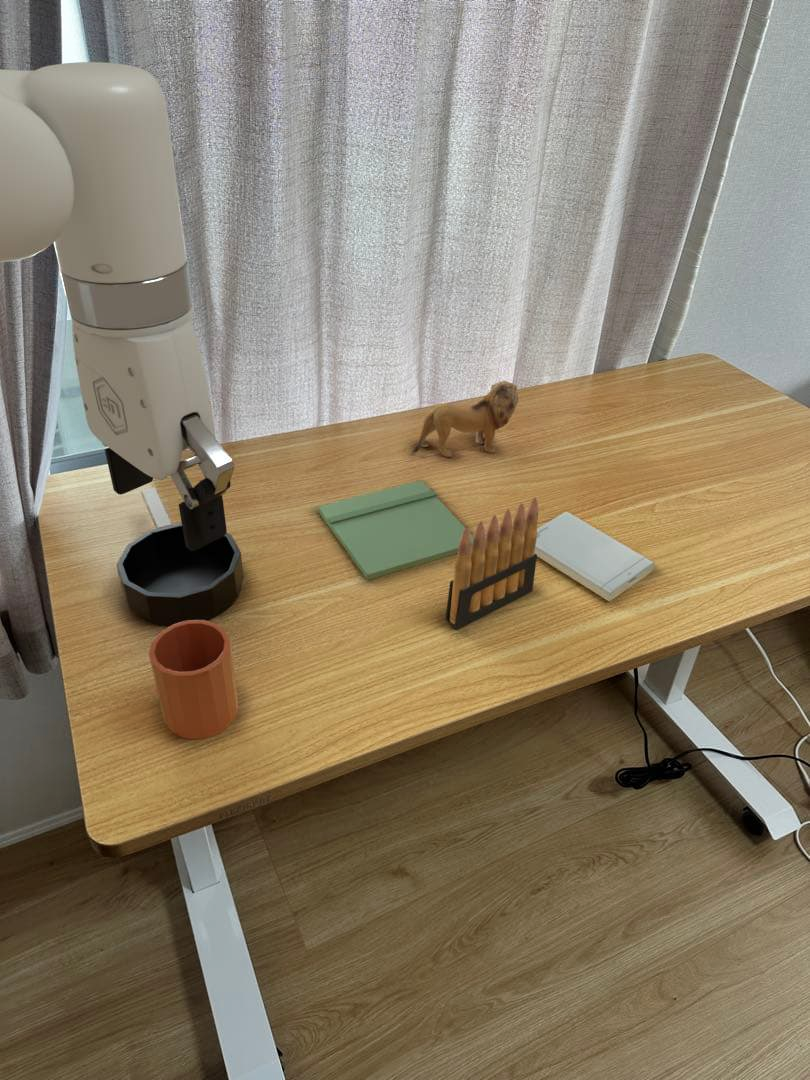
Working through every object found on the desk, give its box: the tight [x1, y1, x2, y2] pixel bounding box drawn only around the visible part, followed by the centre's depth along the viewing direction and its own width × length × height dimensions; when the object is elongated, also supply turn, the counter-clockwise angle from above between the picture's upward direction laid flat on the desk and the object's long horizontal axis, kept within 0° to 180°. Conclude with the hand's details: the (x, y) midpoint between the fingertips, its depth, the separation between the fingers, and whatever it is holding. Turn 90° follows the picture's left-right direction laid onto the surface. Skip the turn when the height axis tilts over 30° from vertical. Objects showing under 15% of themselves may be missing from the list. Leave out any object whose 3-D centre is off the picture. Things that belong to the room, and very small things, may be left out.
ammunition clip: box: [444, 497, 539, 630], centre depth 81 cm, size 11×2×12 cm, turn 127°
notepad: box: [317, 479, 474, 581], centre depth 94 cm, size 14×14×1 cm
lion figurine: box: [411, 380, 519, 458], centre depth 107 cm, size 15×5×9 cm, turn 110°
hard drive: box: [534, 511, 656, 602], centre depth 91 cm, size 2×8×12 cm
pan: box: [116, 486, 245, 628], centre depth 87 cm, size 12×20×4 cm, turn 27°
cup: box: [148, 620, 239, 740], centre depth 70 cm, size 6×6×8 cm
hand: (169, 513), depth 61 cm, fingers open, 9 cm apart
